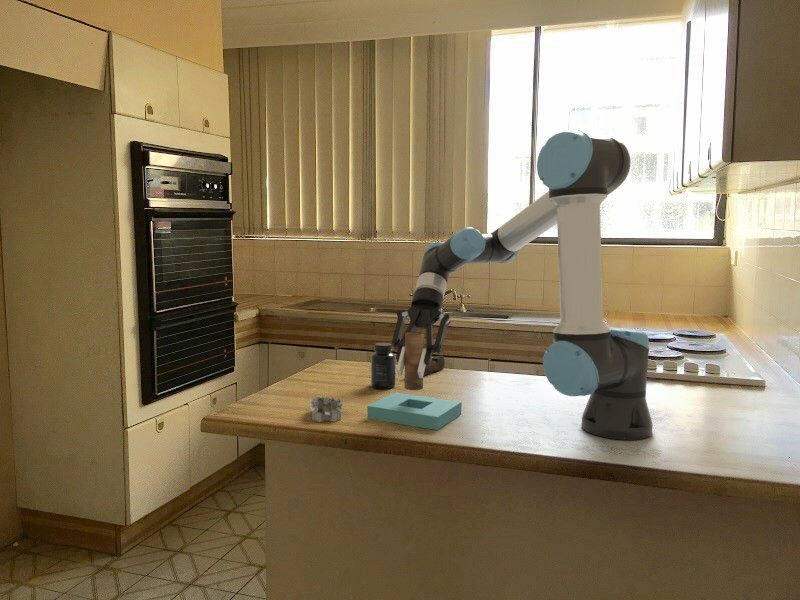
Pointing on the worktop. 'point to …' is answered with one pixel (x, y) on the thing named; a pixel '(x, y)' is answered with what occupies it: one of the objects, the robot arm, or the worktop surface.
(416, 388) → the walnut pin
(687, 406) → the worktop surface
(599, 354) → the robot arm
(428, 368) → the dark brown wooden rod
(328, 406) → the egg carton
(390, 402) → the teal square-hole block
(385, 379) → the supplement bottle
